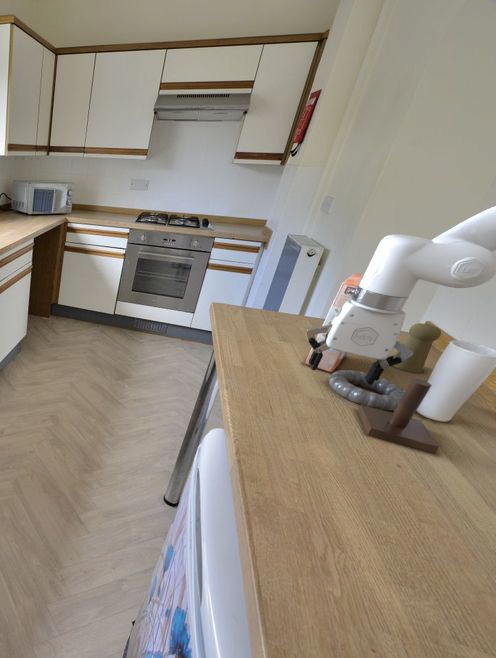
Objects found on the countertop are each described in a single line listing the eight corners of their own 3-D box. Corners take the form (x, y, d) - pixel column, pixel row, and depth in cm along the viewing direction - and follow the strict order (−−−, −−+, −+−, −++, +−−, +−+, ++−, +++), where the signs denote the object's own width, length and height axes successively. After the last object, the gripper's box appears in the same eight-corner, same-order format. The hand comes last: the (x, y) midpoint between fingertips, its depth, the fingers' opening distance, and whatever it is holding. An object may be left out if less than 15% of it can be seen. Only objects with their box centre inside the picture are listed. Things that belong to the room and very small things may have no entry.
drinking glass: (400, 408, 83) (442, 342, 76) (418, 402, 85) (460, 338, 79) (444, 428, 77) (493, 359, 71) (461, 421, 80) (510, 354, 73)
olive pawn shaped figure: (387, 358, 104) (408, 318, 99) (419, 365, 101) (443, 325, 96) (390, 366, 100) (413, 325, 95) (424, 375, 97) (450, 333, 92)
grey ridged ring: (395, 391, 89) (402, 379, 88) (414, 421, 79) (422, 408, 78) (322, 373, 95) (327, 362, 94) (331, 399, 85) (337, 387, 83)
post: (417, 426, 77) (447, 379, 73) (434, 453, 70) (468, 403, 66) (357, 410, 81) (382, 364, 77) (367, 434, 74) (395, 385, 70)
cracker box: (333, 374, 95) (376, 288, 85) (303, 364, 99) (340, 281, 89) (346, 357, 103) (386, 277, 94) (317, 348, 107) (353, 271, 98)
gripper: (327, 295, 81) (293, 369, 89) (445, 316, 73) (396, 395, 81) (322, 285, 87) (290, 356, 95) (430, 304, 79) (386, 379, 87)
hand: (339, 374), depth 88 cm, fingers open, 9 cm apart
